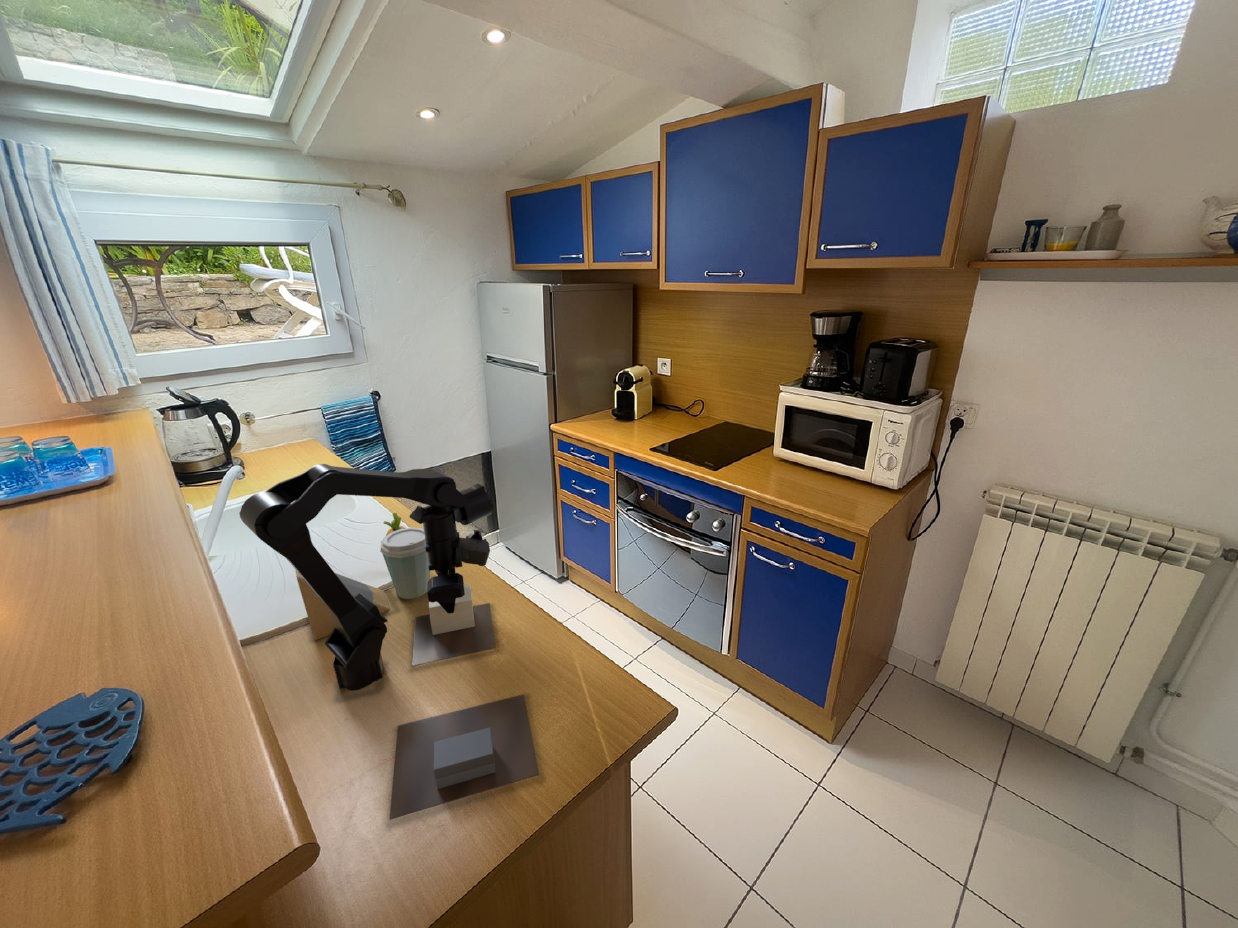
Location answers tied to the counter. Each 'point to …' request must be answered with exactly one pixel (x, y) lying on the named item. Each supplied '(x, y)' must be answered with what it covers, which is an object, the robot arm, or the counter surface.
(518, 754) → the front board
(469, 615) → the cream books
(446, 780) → the grey books
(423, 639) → the back board
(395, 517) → the carrot
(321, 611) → the sandwich container
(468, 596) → the cream book
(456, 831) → the counter surface
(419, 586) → the disposable coffee cup
